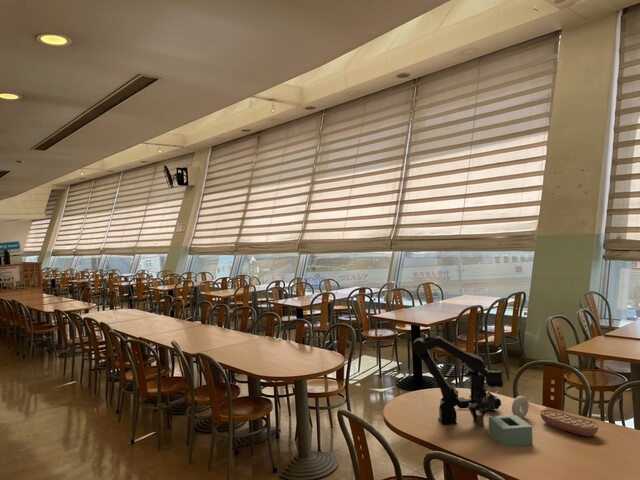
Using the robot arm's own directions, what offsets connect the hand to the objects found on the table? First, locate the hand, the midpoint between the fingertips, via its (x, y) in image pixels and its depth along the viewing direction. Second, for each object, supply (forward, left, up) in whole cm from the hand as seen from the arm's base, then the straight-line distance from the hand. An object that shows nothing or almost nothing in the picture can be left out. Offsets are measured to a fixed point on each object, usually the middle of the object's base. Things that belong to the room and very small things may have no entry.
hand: (478, 421), depth 203 cm
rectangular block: (0, 0, -1) cm, 1 cm away
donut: (+21, +3, -1) cm, 21 cm away
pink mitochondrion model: (+34, -12, -2) cm, 36 cm away
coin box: (+6, -16, -1) cm, 17 cm away
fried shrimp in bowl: (+8, +17, -2) cm, 19 cm away
